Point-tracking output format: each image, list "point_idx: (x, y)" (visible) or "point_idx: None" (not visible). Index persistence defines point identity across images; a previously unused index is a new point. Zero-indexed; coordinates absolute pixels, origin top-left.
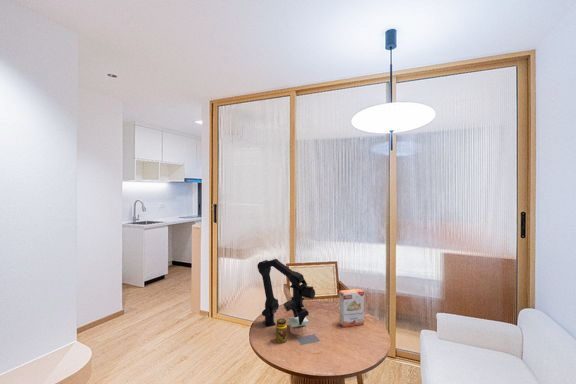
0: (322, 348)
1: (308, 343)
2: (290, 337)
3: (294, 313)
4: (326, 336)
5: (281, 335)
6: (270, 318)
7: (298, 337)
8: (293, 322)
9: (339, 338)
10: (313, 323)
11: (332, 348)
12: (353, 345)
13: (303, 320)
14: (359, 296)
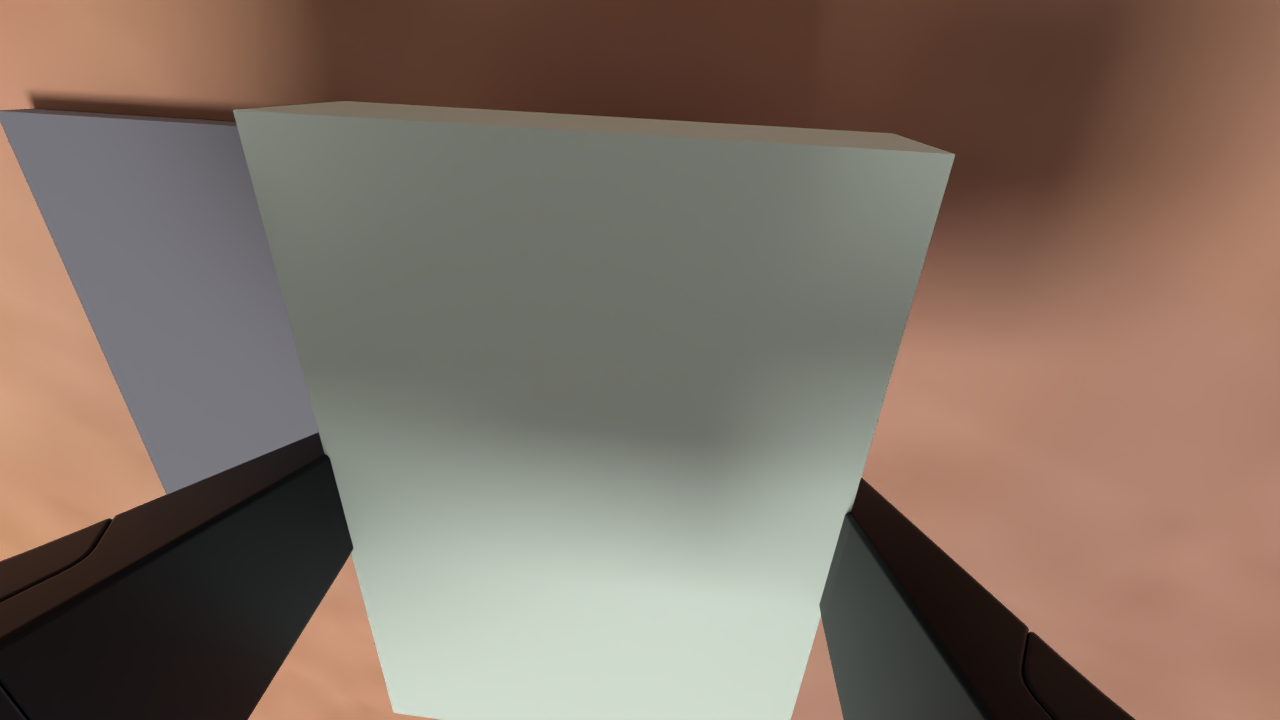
0: (12, 422)
1: (74, 287)
2: (462, 31)
3: (930, 687)
4: (354, 616)
5: None
6: None
7: None
8: (375, 257)
9: (279, 693)
10: (815, 673)
11: (29, 526)
12: None
13: (459, 630)
14: None
